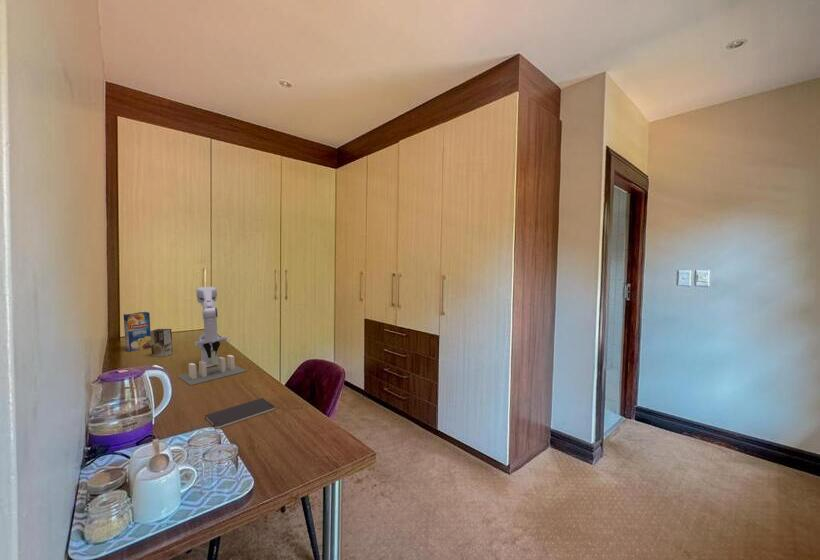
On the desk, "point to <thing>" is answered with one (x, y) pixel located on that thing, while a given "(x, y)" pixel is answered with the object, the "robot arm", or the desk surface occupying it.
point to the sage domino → (212, 358)
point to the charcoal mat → (210, 375)
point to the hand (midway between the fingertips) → (212, 357)
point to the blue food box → (137, 331)
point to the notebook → (239, 413)
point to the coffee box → (161, 342)
